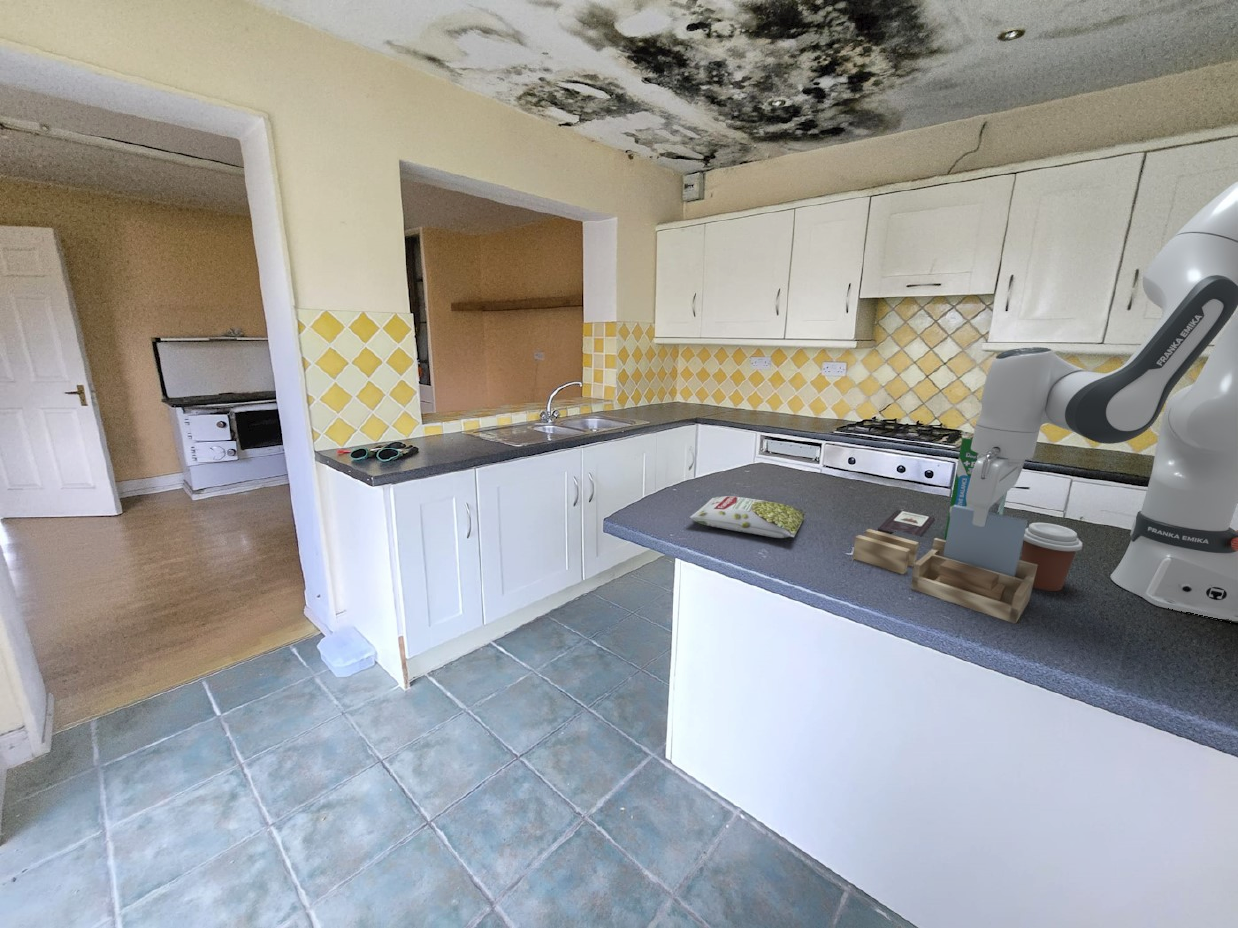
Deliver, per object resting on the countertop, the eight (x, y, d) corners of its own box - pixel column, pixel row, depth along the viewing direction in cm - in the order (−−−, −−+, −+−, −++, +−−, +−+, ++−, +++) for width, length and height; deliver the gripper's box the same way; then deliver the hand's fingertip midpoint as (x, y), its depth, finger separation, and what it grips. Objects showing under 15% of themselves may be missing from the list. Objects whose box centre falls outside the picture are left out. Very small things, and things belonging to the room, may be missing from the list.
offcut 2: (1003, 594, 89) (1005, 585, 89) (999, 602, 87) (1001, 593, 86) (945, 577, 96) (946, 568, 95) (939, 584, 93) (940, 575, 92)
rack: (1028, 605, 91) (1037, 564, 89) (1014, 628, 84) (1024, 585, 82) (929, 574, 103) (935, 537, 101) (909, 593, 95) (916, 553, 93)
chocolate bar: (877, 528, 125) (897, 510, 138) (877, 532, 125) (896, 513, 138) (918, 538, 119) (935, 517, 132) (918, 542, 120) (934, 521, 133)
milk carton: (996, 542, 119) (1018, 437, 112) (990, 554, 112) (1013, 443, 106) (951, 532, 125) (970, 431, 118) (943, 542, 118) (962, 437, 112)
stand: (914, 568, 105) (919, 542, 104) (902, 578, 101) (906, 551, 99) (865, 553, 113) (868, 528, 111) (851, 562, 108) (855, 537, 106)
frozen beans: (795, 524, 113) (688, 506, 124) (793, 549, 114) (687, 529, 125) (807, 501, 131) (713, 487, 142) (805, 522, 132) (712, 507, 143)
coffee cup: (1006, 572, 104) (1018, 517, 101) (1064, 583, 99) (1078, 525, 96) (1013, 591, 96) (1026, 532, 93) (1075, 604, 92) (1091, 542, 89)
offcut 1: (997, 583, 90) (999, 574, 89) (990, 590, 87) (992, 581, 87) (946, 567, 95) (948, 558, 95) (938, 574, 93) (940, 565, 93)
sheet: (1010, 598, 92) (1027, 520, 88) (1008, 601, 91) (1025, 522, 87) (941, 577, 100) (954, 504, 96) (939, 579, 99) (952, 506, 95)
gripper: (1011, 456, 79) (992, 539, 83) (1037, 438, 92) (1019, 510, 96) (964, 449, 83) (948, 527, 87) (995, 433, 97) (980, 501, 100)
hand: (985, 518), depth 92 cm, fingers open, 8 cm apart
